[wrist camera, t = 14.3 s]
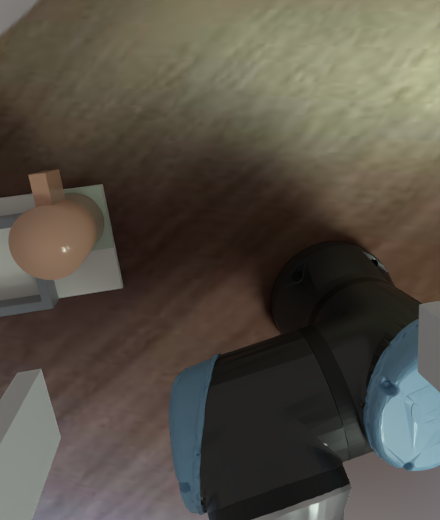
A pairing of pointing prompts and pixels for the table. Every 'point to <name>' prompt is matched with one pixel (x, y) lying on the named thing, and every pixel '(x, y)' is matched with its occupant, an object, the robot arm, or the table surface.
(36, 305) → the cradle
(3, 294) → the board
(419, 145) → the table surface
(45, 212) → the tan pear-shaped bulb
